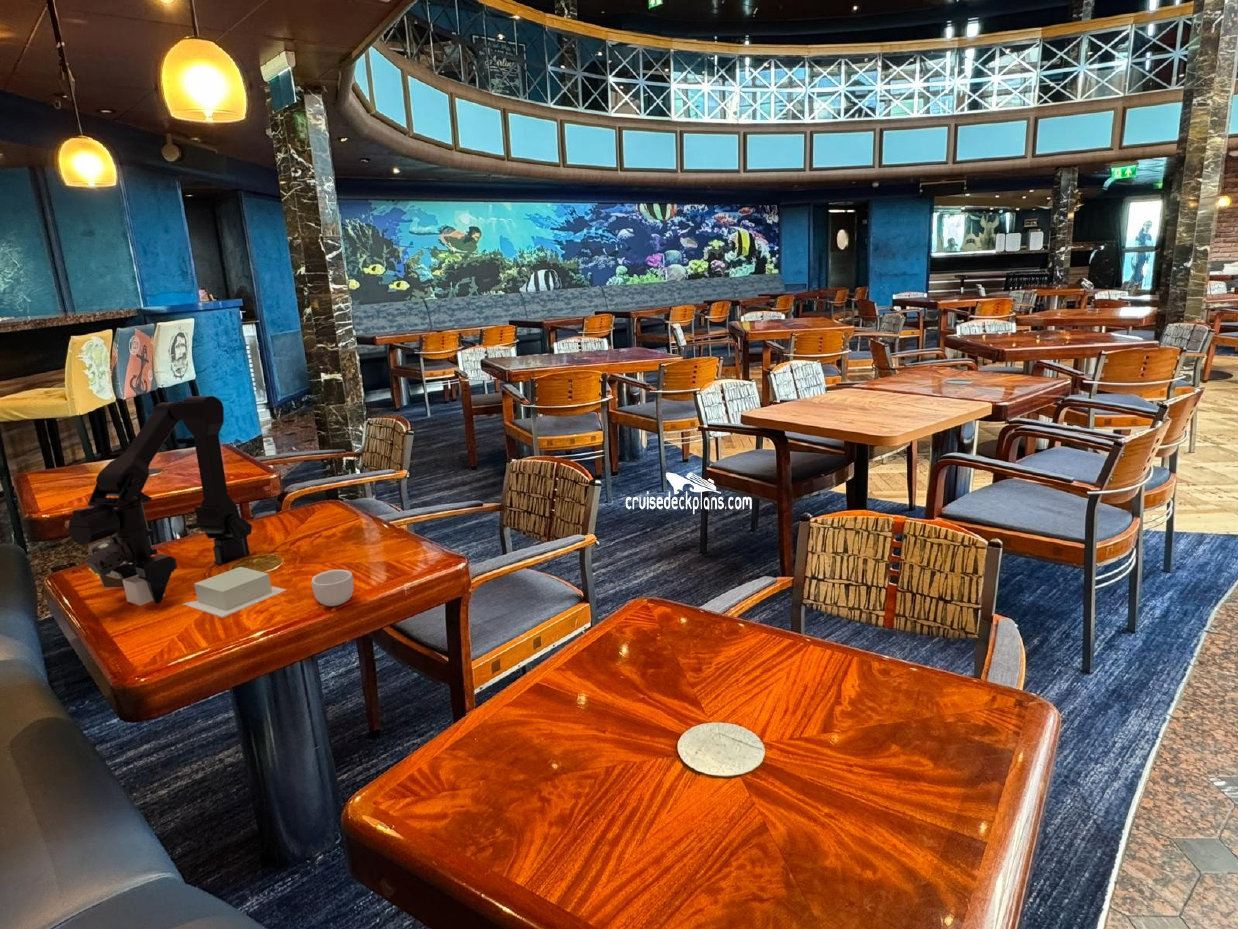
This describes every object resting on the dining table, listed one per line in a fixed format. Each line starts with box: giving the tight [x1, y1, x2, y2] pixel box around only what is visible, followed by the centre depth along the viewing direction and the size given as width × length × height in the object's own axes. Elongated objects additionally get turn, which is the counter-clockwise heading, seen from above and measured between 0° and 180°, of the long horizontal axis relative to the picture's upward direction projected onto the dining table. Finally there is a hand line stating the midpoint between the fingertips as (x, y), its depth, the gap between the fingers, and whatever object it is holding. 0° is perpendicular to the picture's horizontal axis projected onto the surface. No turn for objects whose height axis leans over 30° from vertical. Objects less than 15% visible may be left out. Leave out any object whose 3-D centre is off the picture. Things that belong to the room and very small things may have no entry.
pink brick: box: [123, 575, 166, 607], centre depth 153 cm, size 5×5×6 cm
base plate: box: [183, 585, 287, 619], centre depth 152 cm, size 14×14×1 cm
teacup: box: [311, 569, 354, 607], centre depth 149 cm, size 10×8×5 cm
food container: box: [88, 539, 124, 589], centre depth 164 cm, size 12×6×10 cm, turn 84°
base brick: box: [193, 566, 272, 611], centre depth 151 cm, size 10×10×4 cm
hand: (146, 599), depth 153 cm, fingers open, 9 cm apart
